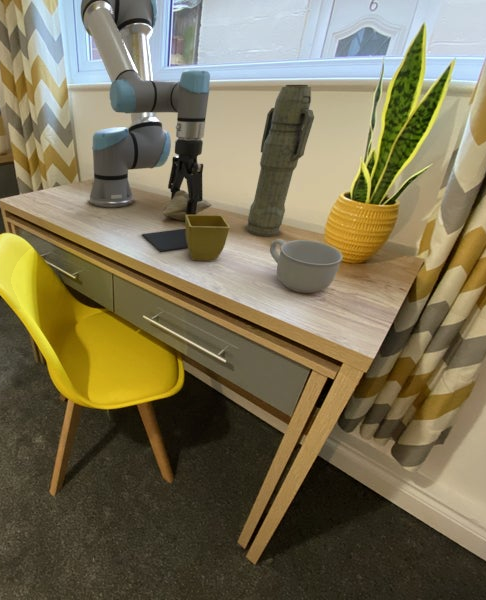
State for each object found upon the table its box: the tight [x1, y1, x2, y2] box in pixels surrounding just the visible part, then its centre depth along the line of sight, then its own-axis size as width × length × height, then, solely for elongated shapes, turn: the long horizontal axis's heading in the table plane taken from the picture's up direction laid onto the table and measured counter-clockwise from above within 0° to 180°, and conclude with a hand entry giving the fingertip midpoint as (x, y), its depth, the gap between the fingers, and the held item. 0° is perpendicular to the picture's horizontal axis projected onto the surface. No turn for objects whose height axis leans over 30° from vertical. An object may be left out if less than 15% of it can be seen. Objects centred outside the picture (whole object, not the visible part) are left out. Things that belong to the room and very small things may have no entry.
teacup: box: [269, 238, 344, 294], centre depth 66 cm, size 14×11×8 cm
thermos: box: [246, 84, 315, 237], centre depth 85 cm, size 9×12×35 cm
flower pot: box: [184, 214, 231, 262], centre depth 77 cm, size 9×9×9 cm
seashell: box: [162, 189, 213, 222], centre depth 101 cm, size 14×9×10 cm
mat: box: [141, 228, 189, 253], centre depth 88 cm, size 12×16×1 cm
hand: (181, 218), depth 102 cm, fingers open, 10 cm apart
